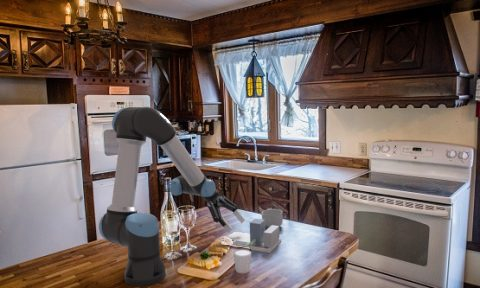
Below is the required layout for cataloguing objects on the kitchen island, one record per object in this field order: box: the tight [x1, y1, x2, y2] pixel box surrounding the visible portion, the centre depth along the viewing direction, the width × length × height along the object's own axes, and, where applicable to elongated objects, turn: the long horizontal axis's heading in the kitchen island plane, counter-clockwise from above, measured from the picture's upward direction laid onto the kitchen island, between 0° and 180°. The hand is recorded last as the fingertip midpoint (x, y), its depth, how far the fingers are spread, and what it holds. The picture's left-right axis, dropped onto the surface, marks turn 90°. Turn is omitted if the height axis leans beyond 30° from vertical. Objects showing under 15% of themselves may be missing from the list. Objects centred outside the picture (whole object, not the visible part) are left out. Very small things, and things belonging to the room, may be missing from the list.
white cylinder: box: [233, 248, 252, 274], centre depth 143 cm, size 7×7×7 cm
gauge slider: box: [249, 218, 266, 245], centre depth 166 cm, size 5×10×9 cm, turn 154°
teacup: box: [261, 208, 284, 229], centre depth 192 cm, size 14×11×8 cm
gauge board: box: [227, 225, 282, 254], centre depth 169 cm, size 24×14×8 cm, turn 64°
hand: (237, 226), depth 172 cm, fingers open, 13 cm apart
